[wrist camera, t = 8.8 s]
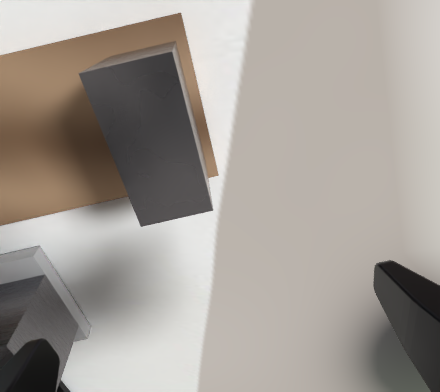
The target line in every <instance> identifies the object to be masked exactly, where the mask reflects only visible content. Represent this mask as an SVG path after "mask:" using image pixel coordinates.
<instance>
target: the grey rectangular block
mask: <svg viewBox="0 0 440 392" xmlns="http://www.w3.org/2000/svg"><path fill="white" fill-rule="evenodd" d="M90 329H91V326H90V324H89V323H88V321H87V320H86V318H85V316H84V315H83V313H82V312H81V310H80V308H79V307H78V305H77V304H76V302H75V301H74V299H73V297H72V296H71V294H70V293H69V291H68V290H67V288H66V286H65V285H64V283H63V282H62V280H61V279H60V277H59V275H58V274H57V272H56V271H55V269H54V267H53V266H52V264H51V263H50V261H49V260H48V258H47V256H46V255H45V253H44V252H43V250H42V249H41V247H40V246H37V247H33V248H28V249H24V250H20V251H15V252H11V253H6V254H2V255H0V369H1V368H2V367H3V366H4V365H5V364H6V363H7V362H8V361H9V360H10V359H11V358H12V357H13V356H14V355H15V354H16V353H17V352H18V351H19V349H20V348H21V347H22V346H23V345H24V344H25V343H27V342H28V341H30V340H34V339H39V338H45V339H47V340H48V342H49V343H50V344H51V346H52V347H53V348H54V349H55V351H56V352H57V353H58V355H59V358H60V367H59V374H58V381H57V387H56V392H57V389H58V386H59V383H60V380H61V377H62V374H63V371H64V368H65V365H66V362H67V359H68V356H69V353H70V350H71V347H72V344H73V342H74V341H79V340H83V339H88V336H89V332H90Z"/></svg>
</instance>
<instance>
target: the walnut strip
mask: <svg viewBox="0 0 440 392" xmlns="http://www.w3.org/2000/svg"><path fill="white" fill-rule="evenodd" d="M214 176H218V171H217V167H216V162H215V158H214V154H213V149H212V145H211V141H210V137H209V132H208V128H207V124H206V119H205V115H204V111H203V106H202V102H201V98H200V93H199V89H198V85H197V80H196V76H195V72H194V67H193V63H192V59H191V54H190V50H189V46H188V41H187V37H186V33H185V28H184V24H183V20H182V15H181V13H178V14H173V15H169V16H165V17H161V18H156V19H152V20H148V21H144V22H140V23H135V24H131V25H127V26H123V27H119V28H114V29H110V30H106V31H102V32H98V33H93V34H89V35H85V36H81V37H76V38H72V39H68V40H64V41H60V42H55V43H51V44H47V45H43V46H39V47H34V48H30V49H26V50H22V51H17V52H13V53H9V54H5V55H1V56H0V226H1V225H5V224H9V223H14V222H18V221H22V220H27V219H31V218H35V217H40V216H44V215H48V214H53V213H57V212H62V211H66V210H70V209H75V208H79V207H83V206H88V205H92V204H96V203H101V202H105V201H109V200H114V199H118V198H123V197H127V196H129V199H130V201H131V204H132V206H133V208H134V211H135V213H136V216H137V218H138V221H139V223H140V226H141V227H142V226H147V225H151V224H155V223H160V222H164V221H169V220H173V219H177V218H182V217H186V216H191V215H195V214H199V213H204V212H208V211H213V206H212V200H211V193H210V187H209V180H208V178H210V177H214Z"/></svg>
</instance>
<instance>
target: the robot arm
mask: <svg viewBox="0 0 440 392" xmlns="http://www.w3.org/2000/svg"><path fill="white" fill-rule="evenodd" d="M374 290H375V293H376V295H377V297H378V299H379V301H380V303H381V305H382V307H383V309H384V311H385V313H386V315H387V317H388V319H389V321H390V323H391V325H392V327H393V329H394V331H395V332H396V335H397V337H398V339H399V341H400V342H401V344H402V346H403V348H404V350H405V351H406V353H407V355H408V356H409V358H410V359H411V361H412V362H413V364H414V366H415V367H416V369H417V370H418V372H419V373H420V375H421V377H422V378H423V380H424V381H425V383H426V384H427V386H428V388H429V389H430V391H431V392H440V285H437V284H436V283H434V282H432V281H430V280H428V279H426V278H425V277H423V276H421V275H419V274H417V273H415V272H413V271H411V270H410V269H408V268H405V267H404V266H402V265H400V264H398V263H396V262H394V261H391V260H389V261H384V262H379V263H377V264H376V265H375V269H374ZM59 367H60V358H59V355H58V353H57V352H56V351H55V349H54V348H53V347H52V346H51V344H50V343H49V342H48V340H47V339H45V338H39V339H34V340H30V341H28V342H27V343H25V344H24V345H23V346H22V347H21V348H20V349H19V351H18V352H17V353H16V354H15V355H14V356H13V357H12V358H11V359H10V360H9V361H8V362H7V363H6V364H5V365H4V366H3V367H2V368H1V369H0V392H56V387H57V381H58V374H59ZM57 392H70V391H69V390H68V389H67V387H66V386H65V385H64V384H63V383H62V381H61V380H60V383H59V386H58V389H57Z"/></svg>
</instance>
